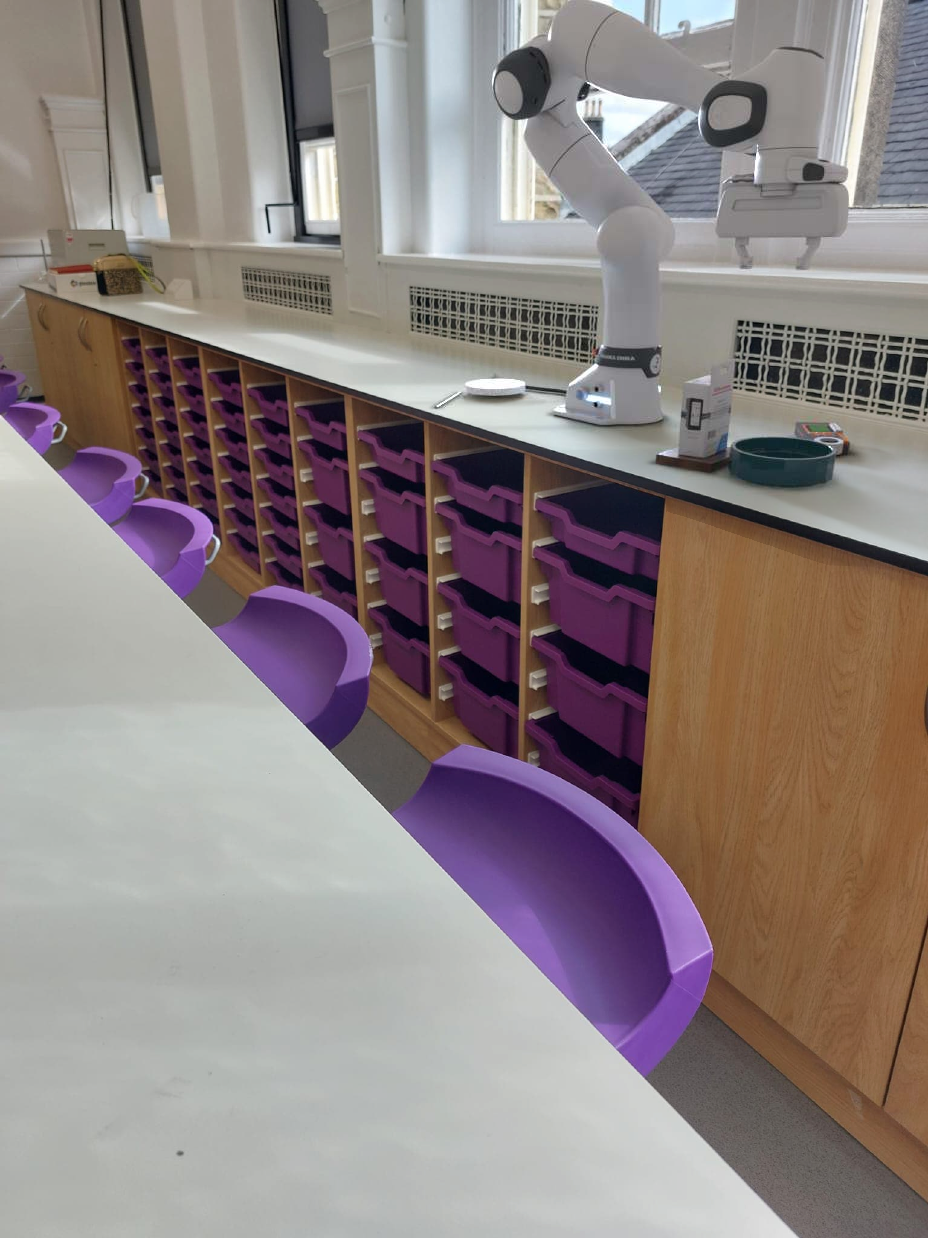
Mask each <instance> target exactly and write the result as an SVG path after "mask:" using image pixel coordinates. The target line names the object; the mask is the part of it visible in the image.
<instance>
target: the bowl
mask: <svg viewBox="0 0 928 1238" xmlns="http://www.w3.org/2000/svg"><path fill="white" fill-rule="evenodd" d="M729 447H730V456H729V465H728V466H727V471H728V473H729V474H730V475H731V476H733V477H734V478H736V479H739V480H741V481H744V482H747V483H749V484H754V485H758V486H764V487H773V488H786V489H787V488H788V489H790V488H791V489H793V488H794V489H796V488H797V489H798V488H807V487H808V488H809V487H814V486H818V485H822V484H826V483H827V482H829V481H832V480H833V479H832V478H833V476H834V469H835V464H836V458H837V455H836V452H837V450H836V449H835V448H834V447H833V446H830V445H828V444H825V443H822V442H818V441H813V440H808V439H801V438H797V437H791V436H752V437H745V438H739V439H737V440H735V441H733V442H732V443H731V444H730V446H729Z"/></svg>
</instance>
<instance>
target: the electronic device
mask: <svg viewBox="0 0 928 1238" xmlns="http://www.w3.org/2000/svg"><path fill="white" fill-rule="evenodd" d="M793 434H794V436H795V438H801V439H808V440H813V441H818V442H822V443H825V444H828V445H830V446H833V447H834V448H835V449H836V450H837V452H836V456H837V455H848V454H849V452H850V445H851V442H850V440H848V438H846V436H845V435H844V431H843V430H842V428H841V427H840V426H839V425H838V423H834V422H813V421H811V422H808V421H806V422H805V421H796V422H795V427H794V433H793Z"/></svg>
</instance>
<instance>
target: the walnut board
mask: <svg viewBox="0 0 928 1238" xmlns="http://www.w3.org/2000/svg"><path fill="white" fill-rule="evenodd" d="M730 447H731V446H727V449H725V450H723V451H720V452H718V453H716V454H713V455H711V456H709V457H706V458H697V457H691V456H685V455H678V446H676V447H673V448H670V449H668V450H664V451H662V452H658V453H656V455H655V464H659V465H663V466H670V467H675V468H681V469H686V470H692V471H698V472H704V473H709V474H712V473H713V472H716V471H719V470H721V469H724V468H726V467H728V465H729V456H730Z"/></svg>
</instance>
